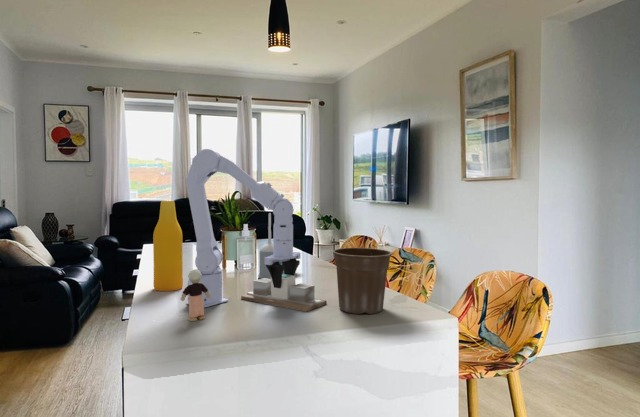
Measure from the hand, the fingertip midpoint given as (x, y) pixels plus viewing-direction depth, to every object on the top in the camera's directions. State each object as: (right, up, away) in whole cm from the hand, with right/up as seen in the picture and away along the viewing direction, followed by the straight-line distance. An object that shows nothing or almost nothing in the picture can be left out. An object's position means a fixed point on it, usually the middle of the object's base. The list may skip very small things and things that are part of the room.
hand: (283, 286), depth 133 cm
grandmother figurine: (-21, -6, -18) cm, 28 cm away
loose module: (0, -3, 0) cm, 3 cm away
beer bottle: (-39, -4, +17) cm, 43 cm away
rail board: (0, -5, 0) cm, 5 cm away
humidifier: (-6, -4, +21) cm, 23 cm away
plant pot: (+22, -5, -8) cm, 24 cm away
